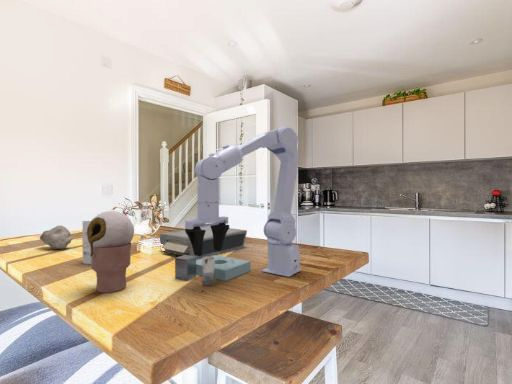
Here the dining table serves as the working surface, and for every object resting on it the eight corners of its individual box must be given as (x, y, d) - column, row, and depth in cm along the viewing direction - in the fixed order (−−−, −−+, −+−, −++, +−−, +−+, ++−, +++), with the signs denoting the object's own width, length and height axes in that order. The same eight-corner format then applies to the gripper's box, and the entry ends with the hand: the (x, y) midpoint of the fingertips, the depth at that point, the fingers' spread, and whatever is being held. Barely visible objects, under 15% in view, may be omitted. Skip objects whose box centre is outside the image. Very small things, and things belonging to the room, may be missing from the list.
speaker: (192, 262, 102) (247, 248, 126) (192, 240, 102) (247, 229, 126) (154, 253, 117) (209, 241, 140) (154, 233, 117) (209, 225, 140)
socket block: (250, 270, 91) (250, 261, 91) (225, 281, 81) (225, 270, 81) (214, 263, 99) (214, 255, 99) (188, 272, 89) (187, 262, 89)
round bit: (217, 283, 79) (217, 257, 79) (208, 286, 76) (208, 260, 76) (208, 280, 81) (208, 255, 81) (199, 284, 78) (199, 258, 78)
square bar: (196, 276, 85) (196, 256, 85) (187, 280, 81) (187, 259, 81) (184, 274, 87) (184, 254, 87) (175, 278, 83) (175, 258, 83)
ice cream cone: (77, 295, 70) (76, 212, 70) (103, 281, 81) (102, 209, 81) (121, 296, 69) (120, 213, 69) (141, 281, 80) (140, 209, 80)
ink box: (112, 262, 102) (112, 220, 101) (101, 265, 97) (100, 221, 97) (94, 260, 104) (93, 219, 104) (81, 263, 100) (81, 220, 99)
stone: (59, 245, 131) (59, 223, 131) (76, 248, 124) (76, 225, 124) (36, 248, 124) (36, 225, 124) (53, 252, 117) (53, 227, 116)
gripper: (215, 201, 87) (215, 246, 87) (177, 203, 75) (177, 255, 75) (234, 201, 83) (233, 249, 83) (196, 204, 71) (196, 259, 71)
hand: (208, 252), depth 79 cm, fingers open, 7 cm apart
